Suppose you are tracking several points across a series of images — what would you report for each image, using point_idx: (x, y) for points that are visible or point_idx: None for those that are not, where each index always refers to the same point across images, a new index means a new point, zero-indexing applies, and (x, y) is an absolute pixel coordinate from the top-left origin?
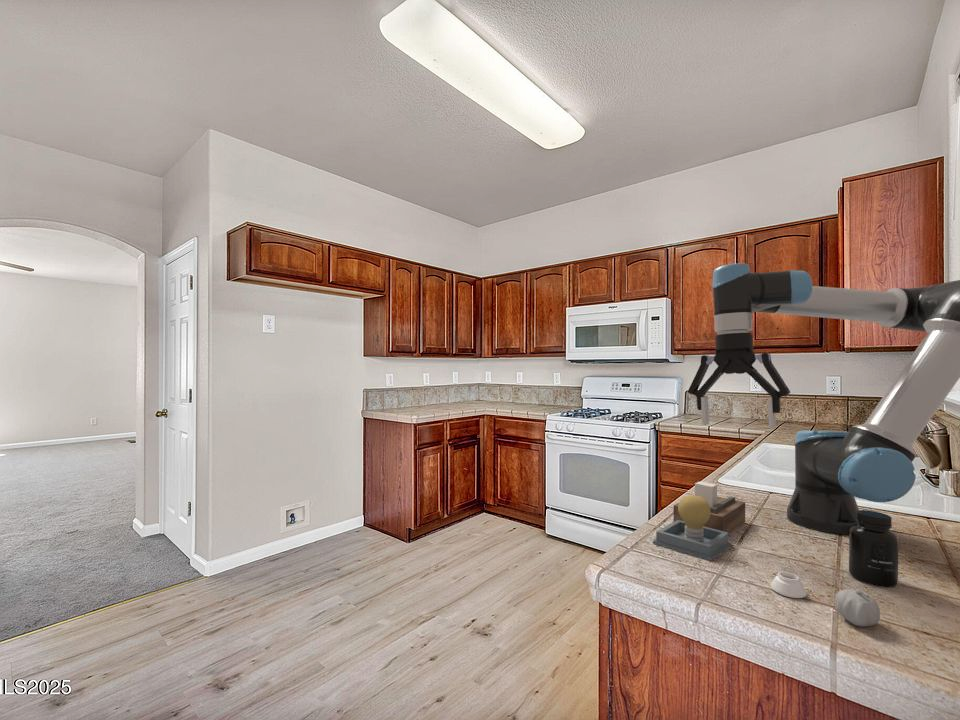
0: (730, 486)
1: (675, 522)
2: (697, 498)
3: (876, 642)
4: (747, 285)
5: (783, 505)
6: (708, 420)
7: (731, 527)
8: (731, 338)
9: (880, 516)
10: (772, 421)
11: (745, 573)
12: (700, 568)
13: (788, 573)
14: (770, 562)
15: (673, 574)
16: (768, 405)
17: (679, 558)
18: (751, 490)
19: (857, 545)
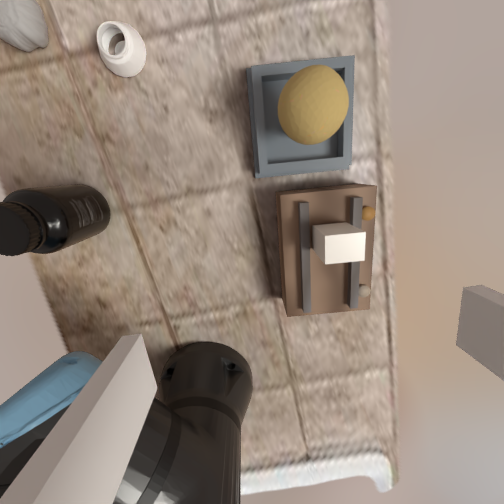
0: (363, 447)
1: (348, 144)
2: (308, 88)
3: None
4: None
5: (273, 414)
6: (474, 346)
7: (279, 236)
8: None
9: None
10: (101, 366)
11: (191, 68)
12: (244, 18)
13: (118, 55)
14: (188, 153)
15: None
16: (36, 484)
17: (286, 30)
18: (332, 449)
19: (58, 191)
